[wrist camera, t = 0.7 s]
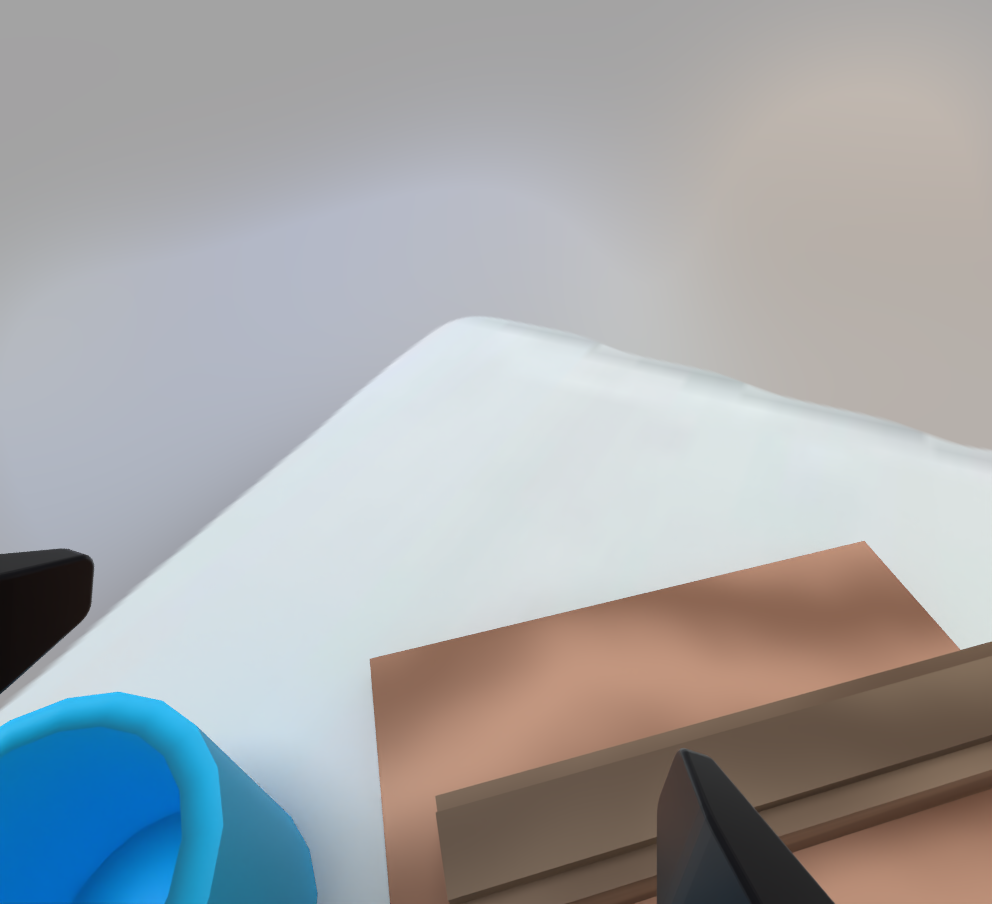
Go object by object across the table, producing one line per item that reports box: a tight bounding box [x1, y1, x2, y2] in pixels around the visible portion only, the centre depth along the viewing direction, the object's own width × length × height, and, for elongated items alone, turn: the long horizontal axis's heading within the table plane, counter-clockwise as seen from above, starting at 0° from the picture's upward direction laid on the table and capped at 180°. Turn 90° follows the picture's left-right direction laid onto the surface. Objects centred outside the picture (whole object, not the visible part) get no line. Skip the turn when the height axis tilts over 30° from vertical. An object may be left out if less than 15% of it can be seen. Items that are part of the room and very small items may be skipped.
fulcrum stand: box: [370, 541, 992, 904], centre depth 17 cm, size 16×22×6 cm
